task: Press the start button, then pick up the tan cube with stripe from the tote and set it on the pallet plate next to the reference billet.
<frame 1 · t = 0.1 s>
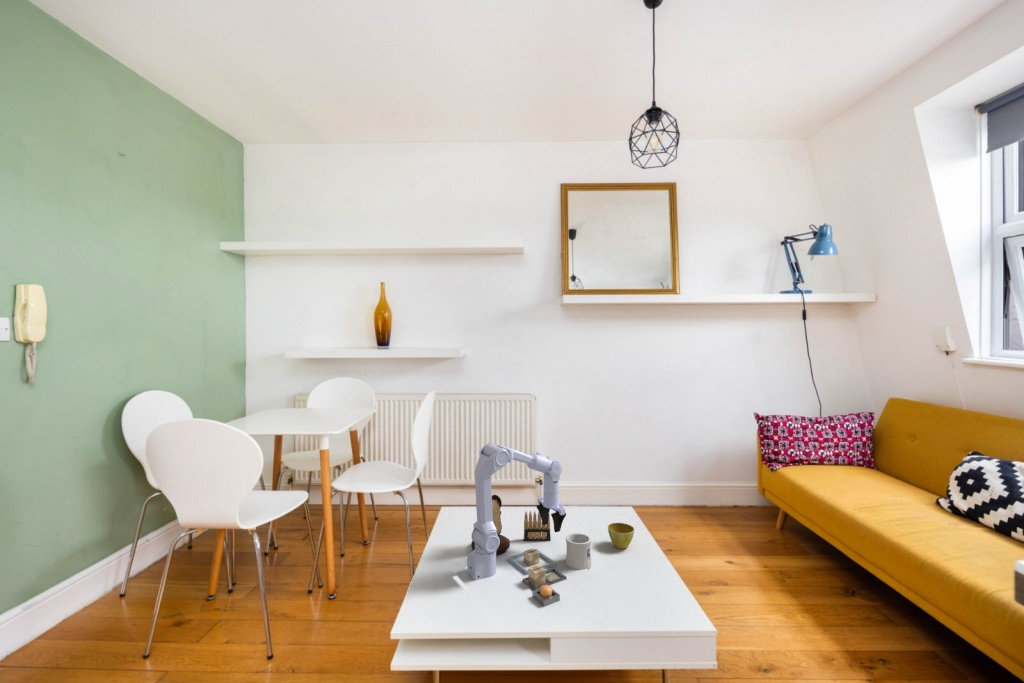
hand: (551, 527, 172), 10 cm above the table, tool pointing down, fingers open, 7 cm apart
scroll: (490, 549, 177), on the table
flower pot: (621, 546, 180), on the table
ammunition clip: (537, 541, 184), on the table
button housing: (546, 602, 142), on the table
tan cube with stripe: (531, 564, 165), resting on tote
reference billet: (536, 582, 151), point 1 cm above the table, touching pallet plate
mug: (578, 564, 166), on the table
tote: (531, 565, 165), on the table
pallet plate: (544, 583, 153), on the table
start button: (546, 592, 142), point 3 cm above the table, slide at 0.0 cm
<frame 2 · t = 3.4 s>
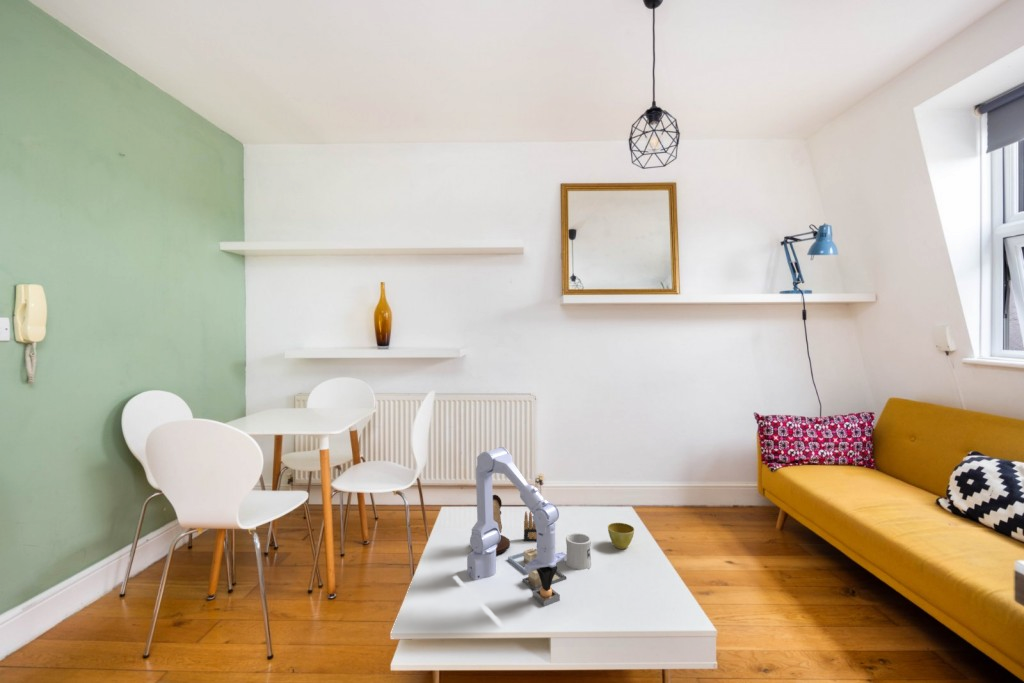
hand: (546, 589, 142), 4 cm above the table, tool pointing down, fingers closed, pressing on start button
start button: (546, 592, 142), point 3 cm above the table, slide at 0.2 cm, touching gripper
everything else where it was.
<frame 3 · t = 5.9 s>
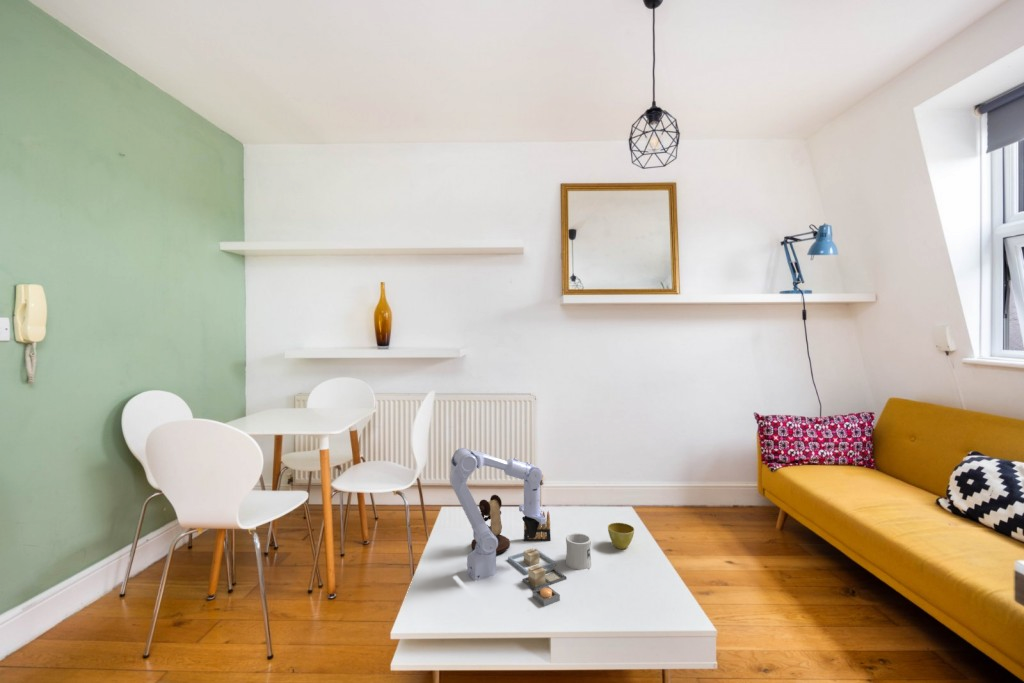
hand: (531, 537, 164), 10 cm above the table, tool pointing down, fingers closed
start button: (546, 595, 142), point 2 cm above the table, slide at 0.9 cm
everything else where it was.
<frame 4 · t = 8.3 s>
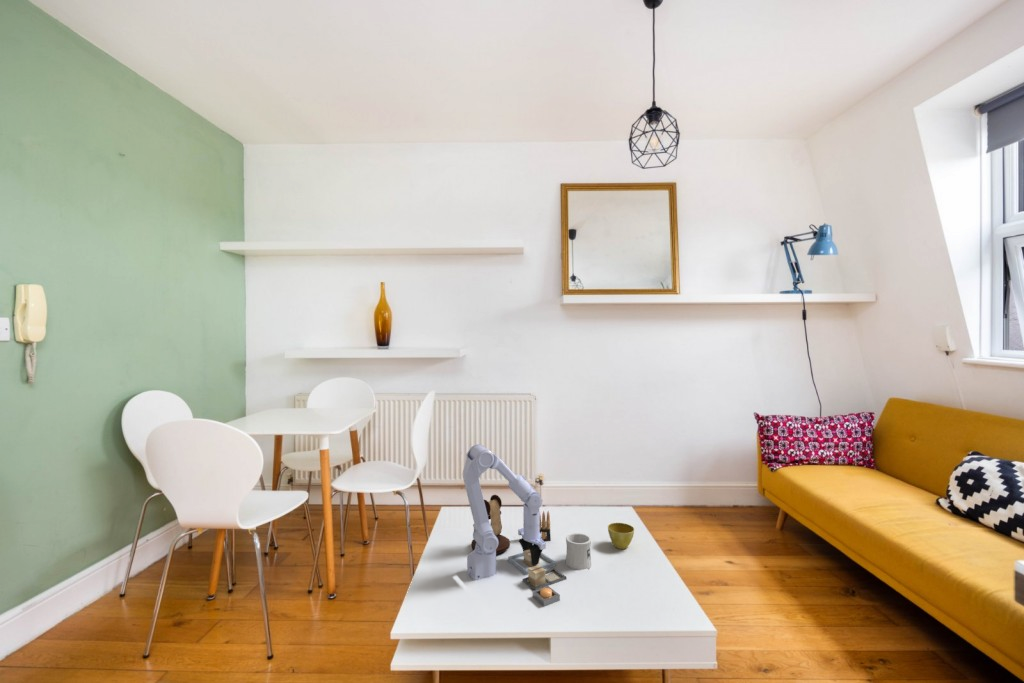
hand: (531, 561, 164), 1 cm above the table, tool pointing down, fingers closed on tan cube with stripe, 4 cm apart
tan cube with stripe: (531, 564, 165), resting on tote, touching gripper
everything else where it was.
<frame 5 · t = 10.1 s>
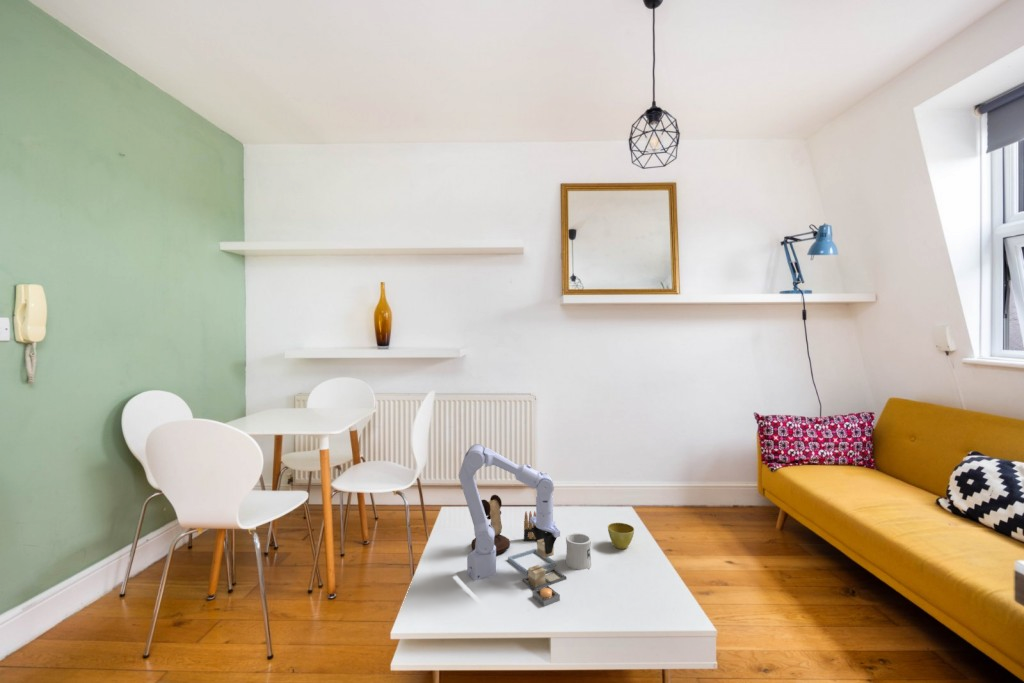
hand: (544, 550, 158), 8 cm above the table, tool pointing down, fingers closed on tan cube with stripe, 4 cm apart
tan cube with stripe: (545, 554, 158), point 7 cm above the table, touching gripper
everything else where it was.
when the fingers open (4 cm above the table, at t = 11.9 s): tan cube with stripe drops 1 cm, resting on pallet plate.
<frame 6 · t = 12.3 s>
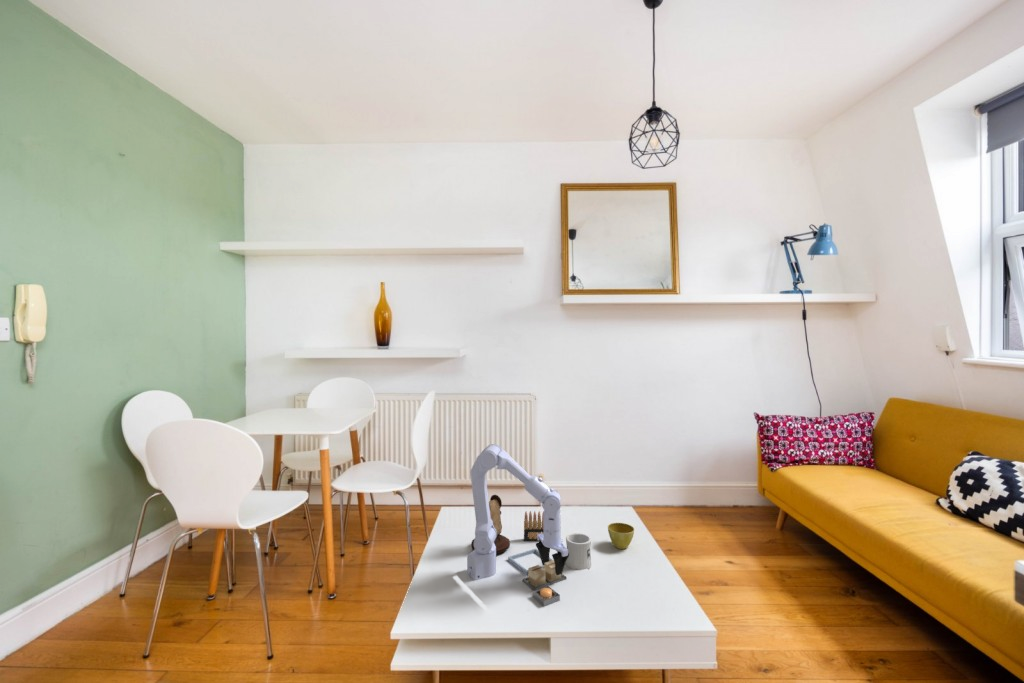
hand: (552, 569, 154), 4 cm above the table, tool pointing down, fingers open, 7 cm apart
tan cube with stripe: (552, 577, 155), point 1 cm above the table, touching pallet plate
everything else where it was.
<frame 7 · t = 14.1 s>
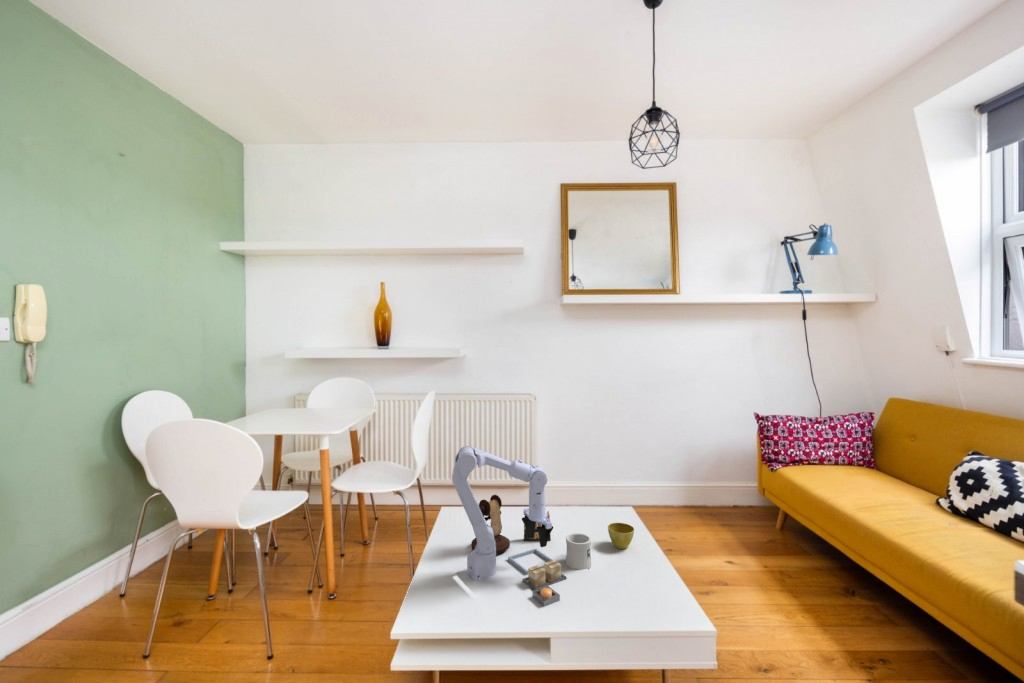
hand: (537, 542, 160), 10 cm above the table, tool pointing down, fingers open, 7 cm apart
nothing on the table moved.
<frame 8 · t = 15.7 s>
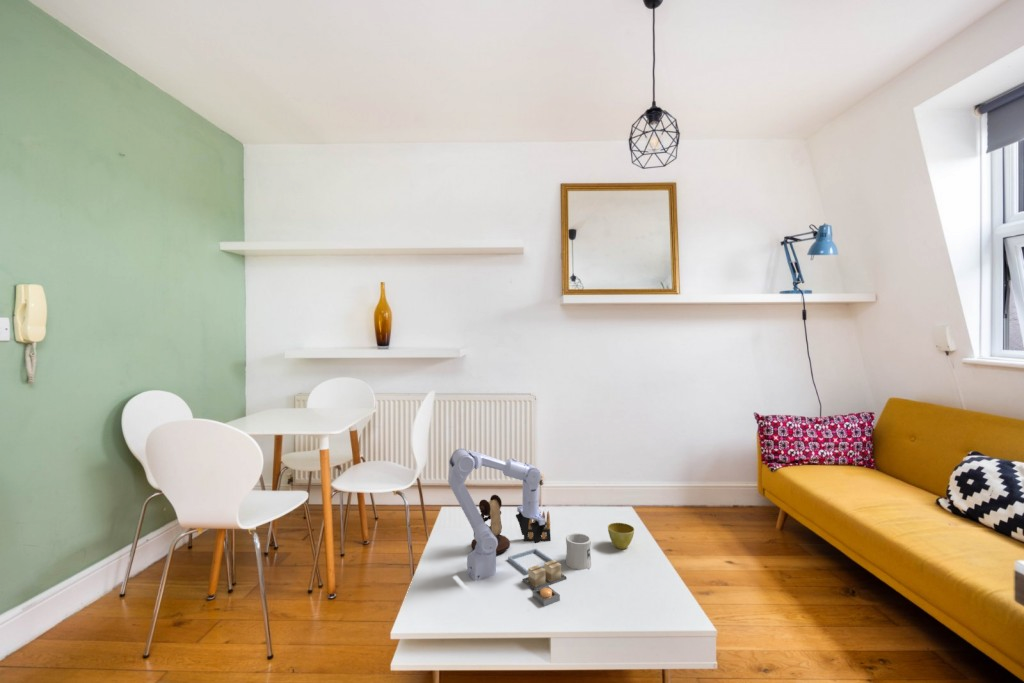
hand: (530, 538, 163), 10 cm above the table, tool pointing down, fingers open, 7 cm apart
nothing on the table moved.
at the end: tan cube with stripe 0.3 cm from the target spot on the pallet plate, point 1.1 cm above the pallet plate's base; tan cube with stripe tilted 0°; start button slide at 0.9 cm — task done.
